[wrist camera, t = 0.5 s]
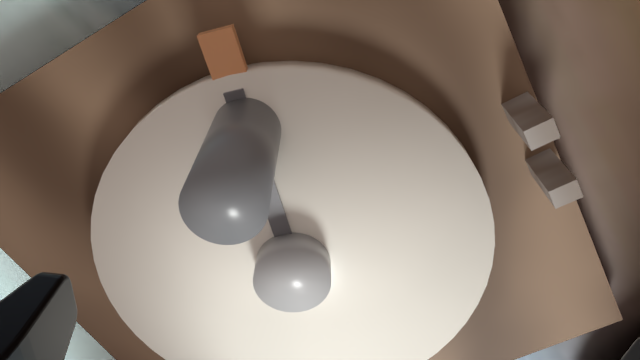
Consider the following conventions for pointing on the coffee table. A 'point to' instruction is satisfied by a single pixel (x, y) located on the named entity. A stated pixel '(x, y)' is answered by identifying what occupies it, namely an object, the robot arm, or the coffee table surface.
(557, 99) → the coffee table surface
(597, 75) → the coffee table surface
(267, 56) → the stand plate
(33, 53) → the coffee table surface
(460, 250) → the dial
